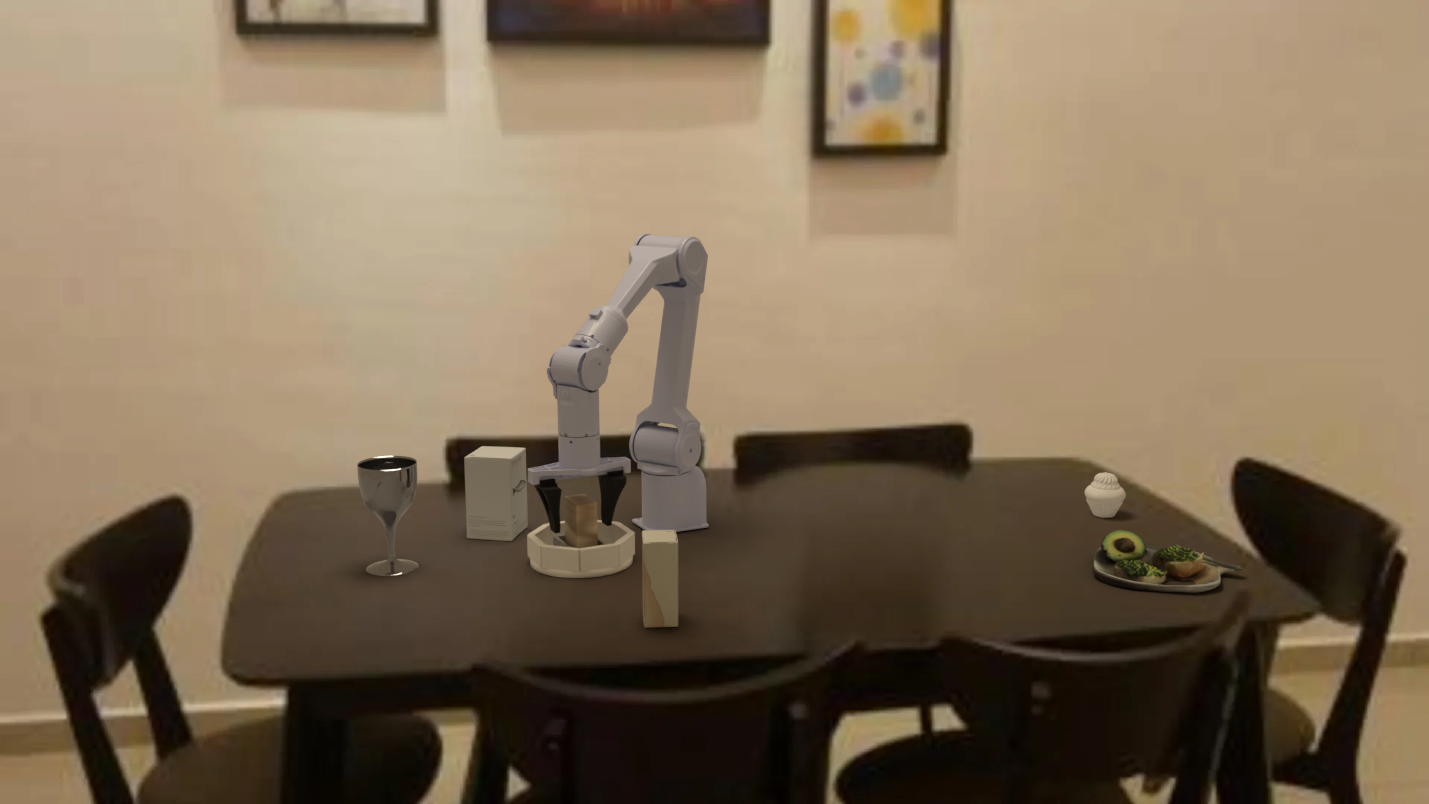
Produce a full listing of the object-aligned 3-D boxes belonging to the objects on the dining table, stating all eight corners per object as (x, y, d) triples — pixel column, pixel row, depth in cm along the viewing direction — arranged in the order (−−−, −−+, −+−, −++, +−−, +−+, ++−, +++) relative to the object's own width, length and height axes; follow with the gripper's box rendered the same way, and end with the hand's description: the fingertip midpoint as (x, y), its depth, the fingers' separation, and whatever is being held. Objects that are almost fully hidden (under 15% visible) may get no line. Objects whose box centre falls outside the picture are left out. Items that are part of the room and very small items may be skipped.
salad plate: (1237, 562, 194) (1240, 531, 193) (1245, 604, 177) (1247, 570, 176) (1095, 549, 200) (1097, 519, 199) (1089, 589, 183) (1091, 556, 182)
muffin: (1080, 518, 214) (1083, 474, 212) (1086, 507, 219) (1088, 465, 218) (1122, 522, 212) (1124, 478, 210) (1126, 511, 217) (1128, 468, 216)
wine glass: (432, 562, 193) (427, 458, 190) (402, 579, 186) (396, 472, 182) (383, 556, 195) (378, 453, 192) (351, 573, 188) (345, 467, 185)
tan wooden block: (585, 548, 196) (584, 493, 194) (597, 558, 191) (596, 502, 190) (565, 550, 195) (564, 496, 193) (577, 561, 190) (576, 505, 188)
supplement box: (513, 542, 202) (510, 458, 199) (465, 539, 203) (462, 456, 201) (529, 527, 209) (527, 446, 206) (483, 524, 210) (480, 444, 208)
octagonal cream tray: (609, 540, 203) (609, 514, 202) (649, 568, 190) (648, 540, 189) (516, 553, 196) (515, 527, 196) (550, 584, 184) (549, 555, 183)
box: (642, 613, 173) (641, 529, 171) (676, 612, 173) (676, 528, 171) (643, 629, 168) (642, 542, 166) (679, 627, 168) (678, 541, 166)
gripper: (538, 444, 183) (541, 542, 186) (638, 433, 189) (640, 528, 192) (521, 433, 189) (524, 528, 192) (619, 423, 195) (620, 515, 198)
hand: (581, 527), depth 192 cm, fingers open, 7 cm apart
